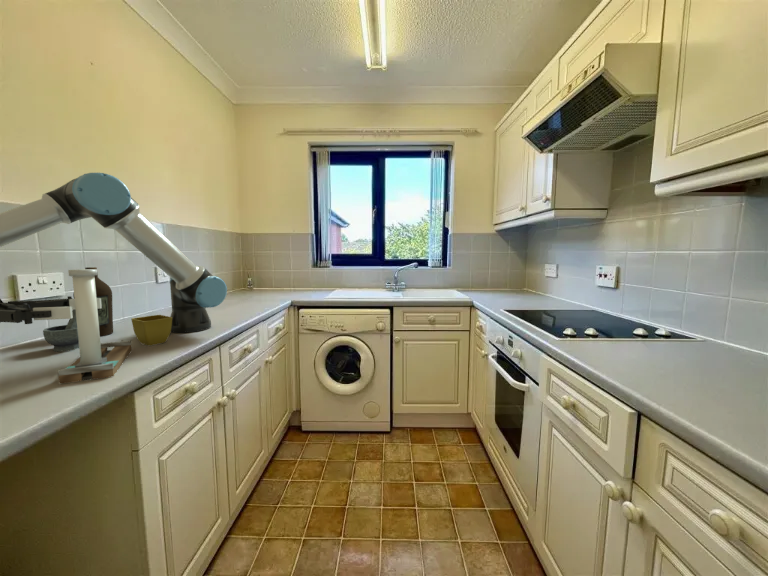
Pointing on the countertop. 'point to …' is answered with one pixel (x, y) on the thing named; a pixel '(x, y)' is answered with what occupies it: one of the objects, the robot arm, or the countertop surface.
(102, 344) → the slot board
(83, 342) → the slider
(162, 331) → the flower pot
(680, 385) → the countertop surface
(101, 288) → the olive oil
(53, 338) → the mortar and pestle
